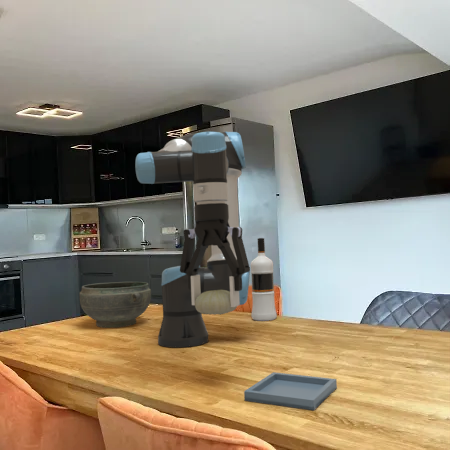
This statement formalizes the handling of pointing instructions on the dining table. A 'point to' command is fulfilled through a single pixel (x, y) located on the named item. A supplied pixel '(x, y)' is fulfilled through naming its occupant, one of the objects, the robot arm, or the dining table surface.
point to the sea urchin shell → (214, 302)
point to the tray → (291, 390)
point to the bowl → (115, 302)
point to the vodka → (262, 286)
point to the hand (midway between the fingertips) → (215, 305)
